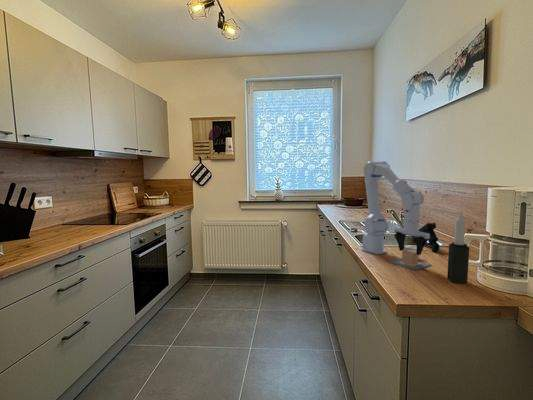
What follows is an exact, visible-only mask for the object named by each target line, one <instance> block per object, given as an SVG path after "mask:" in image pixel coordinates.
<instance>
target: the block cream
mask: <svg viewBox="0 0 533 400" xmlns="http://www.w3.org/2000/svg"><path fill="white" fill-rule="evenodd" d="M408 249H409V250H413V251H417V246H414V245H410V244H409V245H404V250H408ZM404 250H402V251H404Z"/></svg>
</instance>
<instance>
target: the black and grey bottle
mask: <svg viewBox="0 0 533 400" xmlns="http://www.w3.org/2000/svg"><path fill="white" fill-rule="evenodd" d="M454 222H455V223H454V241H453V242H451V243H449V244H448V259H447V278H446V279H447V280H449V281H450V283H453V284H462V285H465V284H466V285H467V284H468V276H469V261H470V247H469V246H468V244H466V243H465V235H466V233H465V232H466V220H465V219H464V216H463V211H459V213H458V217H457V218H456V220H455V221H454Z"/></svg>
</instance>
